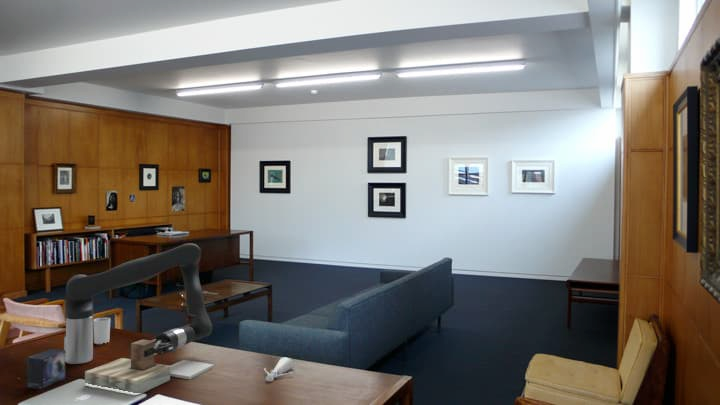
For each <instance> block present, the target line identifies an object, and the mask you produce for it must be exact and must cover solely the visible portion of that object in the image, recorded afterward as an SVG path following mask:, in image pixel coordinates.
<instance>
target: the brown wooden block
mask: <svg viewBox="0 0 720 405" xmlns="http://www.w3.org/2000/svg"><path fill="white" fill-rule="evenodd" d="M151 340H152V339H151ZM151 340H149V339H140V340H137V341H134V342H131V343H130V349H131V355H130V359H131V369H134V370H140V371H145V370H147V369H149V368H152V367H154V366H155V363H156V361H155V356H156V355H150V356H148V357H144V351H145V350H147V349H150V348H153V347H155V341H151Z"/></svg>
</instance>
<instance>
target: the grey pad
mask: <svg viewBox="0 0 720 405" xmlns="http://www.w3.org/2000/svg"><path fill="white" fill-rule="evenodd" d="M169 366H170V377H172V378H173V377H174V378H179V379H180V378H181V379H185V380H191V379H194V378H195V377H198V376H199V375H201V374H204V373H205V372H208V371H209V370H211V369H213V368H214V367H215V364H212V363H207V362H201V361H194V360H189V359H188V360H187V359H182V360H180V361H178V362H176V363H173V364H170V365H169Z"/></svg>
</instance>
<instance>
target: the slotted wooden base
mask: <svg viewBox="0 0 720 405" xmlns="http://www.w3.org/2000/svg"><path fill="white" fill-rule="evenodd" d="M170 366H171V365H168V364H164V363H163V364H161V363H156V362H155V366H154V367H152V368H149V369H147V370H145V371H140V370H134V369H131V358H125V357H120V358H118V359H114V360H112V361H110V362H107V363H105V364H102V365H99V366H96V367H93V368H92V369H88V370H85V371H84V384H85V383H88V384H92V385H97V386H101V387H108V388H113V389H119V390H123V391H128V392H133V393H142V394H143V393H145V392H148V391H149V390H151V389H154V388H156V387H158V386H160V385H162V384H165V383H167V382H168V381H170V380H171V376H170Z"/></svg>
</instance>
